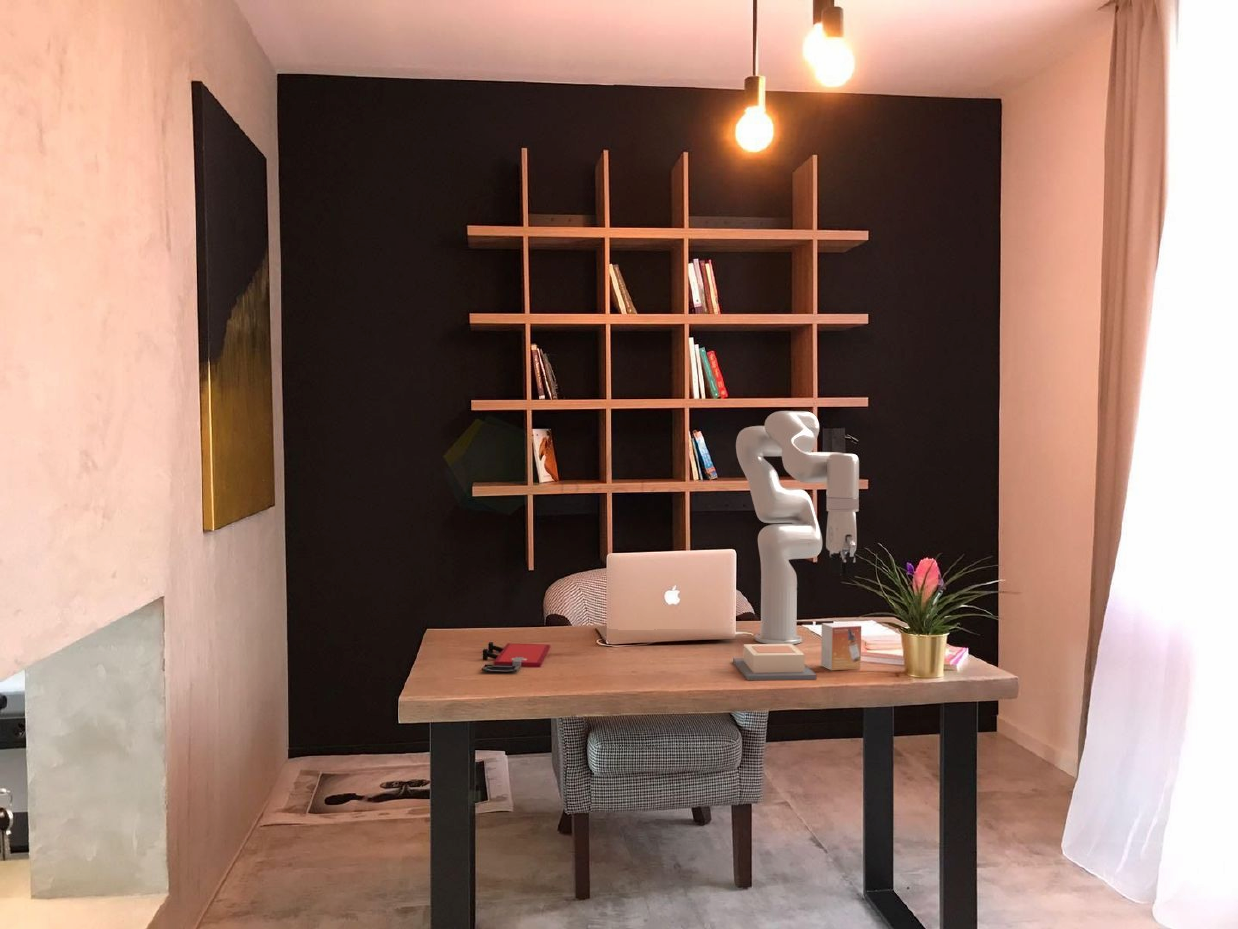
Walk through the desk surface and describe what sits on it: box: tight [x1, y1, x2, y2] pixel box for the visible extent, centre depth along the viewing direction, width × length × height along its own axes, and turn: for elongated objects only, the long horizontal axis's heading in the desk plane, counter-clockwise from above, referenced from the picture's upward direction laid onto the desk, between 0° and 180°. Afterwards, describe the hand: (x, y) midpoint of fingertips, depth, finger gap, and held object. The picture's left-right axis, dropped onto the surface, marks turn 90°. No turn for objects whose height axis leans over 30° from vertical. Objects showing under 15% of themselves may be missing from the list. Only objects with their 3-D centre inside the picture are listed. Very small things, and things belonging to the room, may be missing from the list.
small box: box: [820, 621, 862, 671], centre depth 243 cm, size 8×6×10 cm
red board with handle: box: [480, 641, 551, 673], centre depth 250 cm, size 30×3×15 cm
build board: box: [732, 643, 817, 681], centre depth 240 cm, size 18×16×5 cm
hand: (842, 576), depth 242 cm, fingers open, 9 cm apart
